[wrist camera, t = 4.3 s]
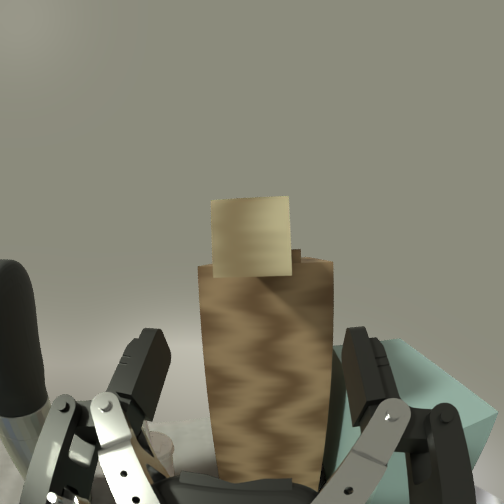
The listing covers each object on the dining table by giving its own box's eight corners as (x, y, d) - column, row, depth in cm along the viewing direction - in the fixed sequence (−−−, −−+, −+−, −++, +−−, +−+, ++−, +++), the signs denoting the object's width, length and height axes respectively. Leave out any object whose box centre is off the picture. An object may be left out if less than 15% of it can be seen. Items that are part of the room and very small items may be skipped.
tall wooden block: (223, 503, 25) (197, 253, 25) (242, 428, 45) (232, 252, 45) (315, 503, 24) (332, 248, 24) (305, 427, 44) (308, 249, 44)
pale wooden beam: (212, 277, 12) (209, 198, 12) (259, 259, 44) (258, 236, 44) (293, 275, 12) (289, 193, 12) (281, 258, 44) (281, 235, 44)
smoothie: (161, 509, 22) (134, 438, 22) (133, 486, 26) (107, 414, 26) (194, 489, 27) (178, 418, 27) (165, 470, 31) (147, 400, 31)
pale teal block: (339, 564, 12) (388, 451, 12) (322, 457, 34) (331, 345, 34) (423, 541, 11) (498, 411, 11) (380, 449, 33) (400, 338, 33)
